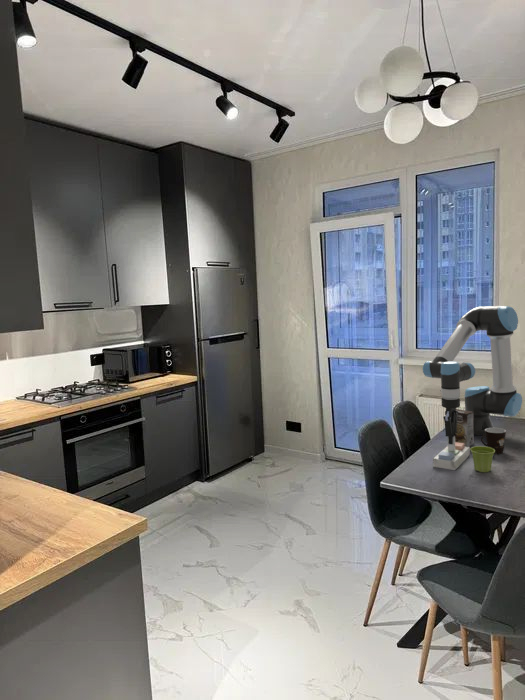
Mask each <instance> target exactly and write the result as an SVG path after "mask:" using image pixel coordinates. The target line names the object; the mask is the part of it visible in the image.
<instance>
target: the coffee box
mask: <svg viewBox="0 0 525 700" xmlns="http://www.w3.org/2000/svg"><path fill="white" fill-rule="evenodd" d="M456 411H458V417H457V433H456V434H457V436H455V442H458V443H464V446H465V447H470V446H472V445H474V441H475V440H474V435H473V412H472V411H466V410H465V409H458V408H456Z"/></svg>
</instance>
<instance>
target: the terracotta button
mask: <svg viewBox="0 0 525 700" xmlns="http://www.w3.org/2000/svg"><path fill="white" fill-rule="evenodd" d="M463 449H464V443H458V442H455V450H461V451H462V450H463Z"/></svg>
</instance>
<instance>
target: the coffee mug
mask: <svg viewBox="0 0 525 700" xmlns="http://www.w3.org/2000/svg"><path fill="white" fill-rule="evenodd" d="M506 433H507V430H506V429H504V428H501V427H493V428H487V429H485V434H486V435H481V437H480V442H481V443H482V445H483V446H485V447H490V448H493V449H494V450H495V453H494V455H501V454H502V455H503V454H504V451H505V442H506ZM483 438H485V440H486V443H485V442H484V440H483Z"/></svg>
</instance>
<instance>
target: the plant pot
mask: <svg viewBox="0 0 525 700" xmlns="http://www.w3.org/2000/svg"><path fill="white" fill-rule="evenodd" d="M470 453H471V455H472V460H473V461H472V462H473V467H474V470H475V471H478V472H479V473H488V472H491V470H492V463H493V458H494V457H493V456H494V455H495V454H494V453H495V450H494V449H493V448H490V447H487V446H486V445H475V446H472V447H470Z"/></svg>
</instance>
